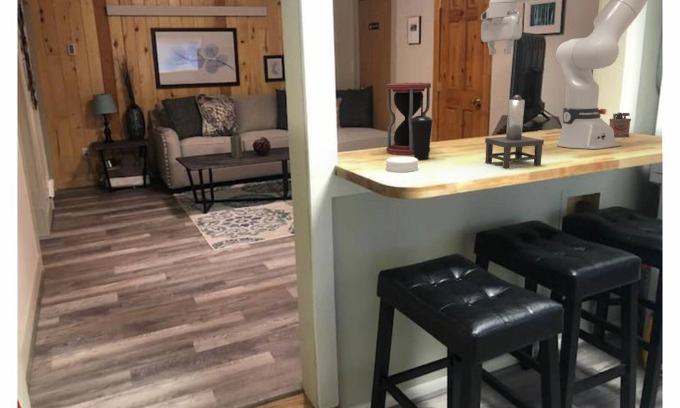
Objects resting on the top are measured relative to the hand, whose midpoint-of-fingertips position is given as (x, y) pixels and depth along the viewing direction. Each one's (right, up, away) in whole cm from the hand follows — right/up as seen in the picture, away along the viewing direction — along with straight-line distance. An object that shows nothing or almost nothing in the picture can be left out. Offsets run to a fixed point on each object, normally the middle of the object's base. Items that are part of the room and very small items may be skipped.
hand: (499, 54), depth 184 cm
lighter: (+59, -25, +31) cm, 71 cm away
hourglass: (-31, -33, +11) cm, 47 cm away
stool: (-1, -40, -18) cm, 44 cm away
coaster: (-37, -42, -20) cm, 60 cm away
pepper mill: (-2, -32, -20) cm, 38 cm away
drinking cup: (-28, -38, -4) cm, 47 cm away
